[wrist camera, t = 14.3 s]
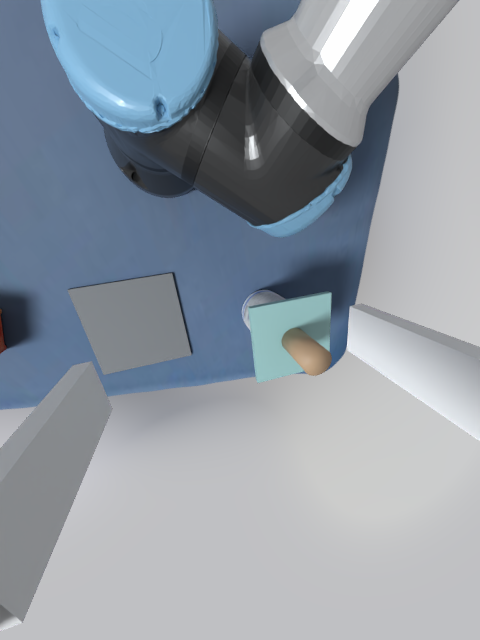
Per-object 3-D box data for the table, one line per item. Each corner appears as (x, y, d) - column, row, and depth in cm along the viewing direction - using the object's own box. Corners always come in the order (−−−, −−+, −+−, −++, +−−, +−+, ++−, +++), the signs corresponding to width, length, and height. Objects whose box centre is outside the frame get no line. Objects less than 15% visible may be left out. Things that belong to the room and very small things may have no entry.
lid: (247, 306, 32) (266, 326, 25) (327, 291, 34) (366, 305, 27) (256, 379, 37) (273, 414, 30) (325, 361, 39) (357, 390, 32)
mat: (68, 289, 39) (67, 289, 39) (172, 272, 42) (171, 273, 42) (104, 373, 46) (103, 374, 45) (191, 353, 49) (191, 355, 48)
